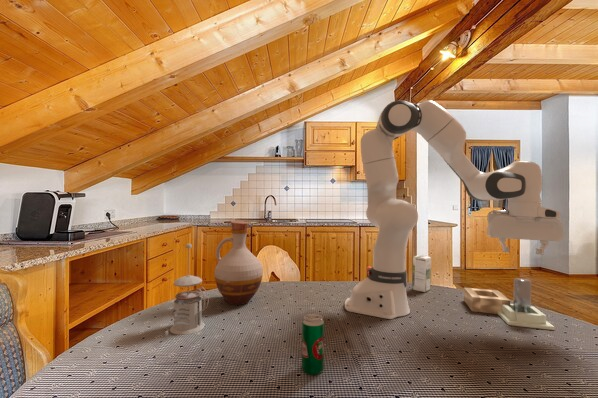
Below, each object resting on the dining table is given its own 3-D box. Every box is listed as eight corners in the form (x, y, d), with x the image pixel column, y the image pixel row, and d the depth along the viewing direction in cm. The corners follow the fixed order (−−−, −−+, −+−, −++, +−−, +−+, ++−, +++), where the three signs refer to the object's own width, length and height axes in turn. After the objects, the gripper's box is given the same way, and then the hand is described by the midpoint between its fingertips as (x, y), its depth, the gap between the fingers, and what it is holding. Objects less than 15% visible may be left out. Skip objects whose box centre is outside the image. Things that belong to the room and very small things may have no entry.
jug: (199, 304, 106) (200, 221, 106) (229, 290, 123) (230, 218, 123) (245, 313, 99) (246, 224, 99) (270, 297, 115) (271, 220, 115)
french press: (185, 318, 94) (186, 240, 94) (216, 324, 90) (217, 242, 90) (162, 331, 85) (163, 244, 85) (195, 338, 81) (196, 247, 81)
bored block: (472, 311, 103) (472, 296, 103) (463, 300, 114) (463, 287, 114) (510, 315, 100) (510, 300, 100) (497, 303, 111) (497, 290, 111)
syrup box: (417, 286, 131) (417, 254, 131) (431, 289, 127) (431, 256, 127) (412, 289, 127) (412, 256, 127) (425, 292, 123) (426, 258, 123)
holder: (508, 324, 92) (508, 313, 92) (494, 310, 104) (494, 301, 104) (554, 330, 89) (554, 318, 89) (534, 315, 100) (535, 304, 100)
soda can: (300, 363, 69) (301, 312, 69) (321, 363, 69) (322, 312, 69) (302, 376, 64) (303, 321, 64) (325, 376, 64) (326, 321, 64)
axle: (516, 318, 95) (517, 281, 95) (510, 313, 99) (511, 277, 99) (533, 320, 93) (533, 282, 93) (526, 314, 98) (527, 278, 98)
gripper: (490, 209, 96) (489, 252, 96) (566, 212, 90) (565, 257, 90) (484, 209, 102) (483, 249, 102) (555, 212, 96) (554, 254, 96)
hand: (522, 253), depth 96 cm, fingers open, 8 cm apart
